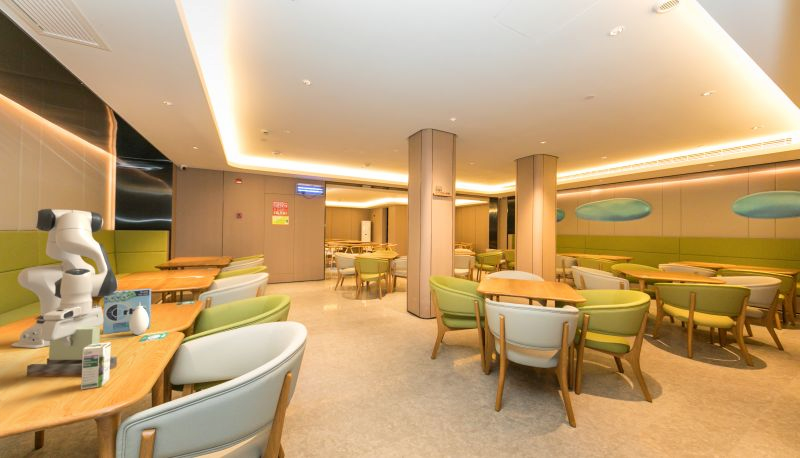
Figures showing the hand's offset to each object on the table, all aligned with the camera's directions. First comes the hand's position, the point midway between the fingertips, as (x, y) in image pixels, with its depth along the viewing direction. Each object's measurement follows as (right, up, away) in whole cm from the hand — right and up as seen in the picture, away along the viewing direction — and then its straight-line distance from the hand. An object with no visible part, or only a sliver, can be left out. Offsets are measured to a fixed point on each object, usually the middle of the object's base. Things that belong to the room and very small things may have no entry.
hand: (74, 344), depth 116 cm
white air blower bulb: (-12, -12, +42) cm, 45 cm away
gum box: (-25, -12, +49) cm, 56 cm away
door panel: (0, -6, 0) cm, 6 cm away
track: (0, -11, 0) cm, 11 cm away
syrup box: (+19, -11, -10) cm, 25 cm away
